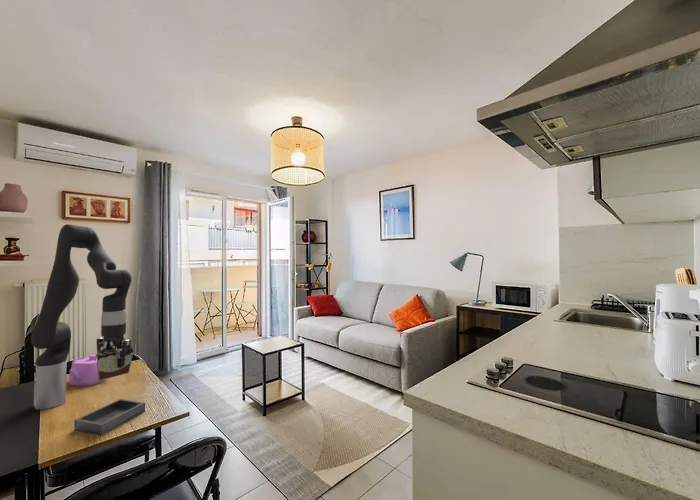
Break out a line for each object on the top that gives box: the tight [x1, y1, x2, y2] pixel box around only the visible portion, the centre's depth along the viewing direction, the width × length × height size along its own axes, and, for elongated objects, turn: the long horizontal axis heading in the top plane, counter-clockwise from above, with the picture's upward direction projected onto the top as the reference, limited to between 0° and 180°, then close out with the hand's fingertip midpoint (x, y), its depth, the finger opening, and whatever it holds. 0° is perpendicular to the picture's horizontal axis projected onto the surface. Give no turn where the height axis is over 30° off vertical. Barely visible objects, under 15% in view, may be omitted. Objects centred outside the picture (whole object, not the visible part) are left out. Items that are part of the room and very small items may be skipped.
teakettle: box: [68, 354, 106, 387], centre depth 152 cm, size 17×17×12 cm
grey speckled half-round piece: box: [95, 346, 136, 381], centre depth 117 cm, size 12×6×10 cm, turn 143°
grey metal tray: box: [73, 398, 146, 436], centre depth 116 cm, size 12×17×4 cm
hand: (113, 366), depth 116 cm, fingers closed on grey speckled half-round piece, 6 cm apart
